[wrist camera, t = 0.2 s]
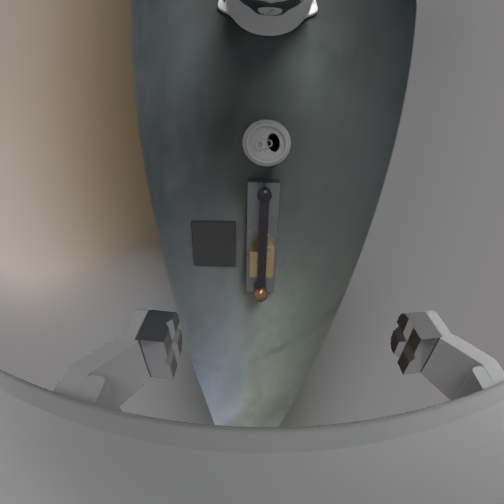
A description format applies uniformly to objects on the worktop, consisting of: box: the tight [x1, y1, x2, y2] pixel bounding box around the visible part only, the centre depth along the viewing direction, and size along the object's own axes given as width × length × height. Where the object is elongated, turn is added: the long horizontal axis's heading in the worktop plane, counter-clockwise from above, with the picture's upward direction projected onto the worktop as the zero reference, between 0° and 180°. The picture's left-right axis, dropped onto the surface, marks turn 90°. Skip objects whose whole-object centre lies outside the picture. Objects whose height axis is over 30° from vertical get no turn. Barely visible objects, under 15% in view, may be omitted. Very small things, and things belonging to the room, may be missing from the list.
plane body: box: [246, 179, 280, 302], centre depth 56 cm, size 24×6×7 cm, turn 179°
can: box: [242, 120, 291, 166], centre depth 45 cm, size 8×8×12 cm
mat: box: [191, 221, 235, 266], centre depth 60 cm, size 10×9×1 cm
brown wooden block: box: [250, 243, 274, 278], centre depth 56 cm, size 6×4×4 cm
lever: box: [257, 187, 272, 287], centre depth 51 cm, size 19×2×1 cm, turn 179°
